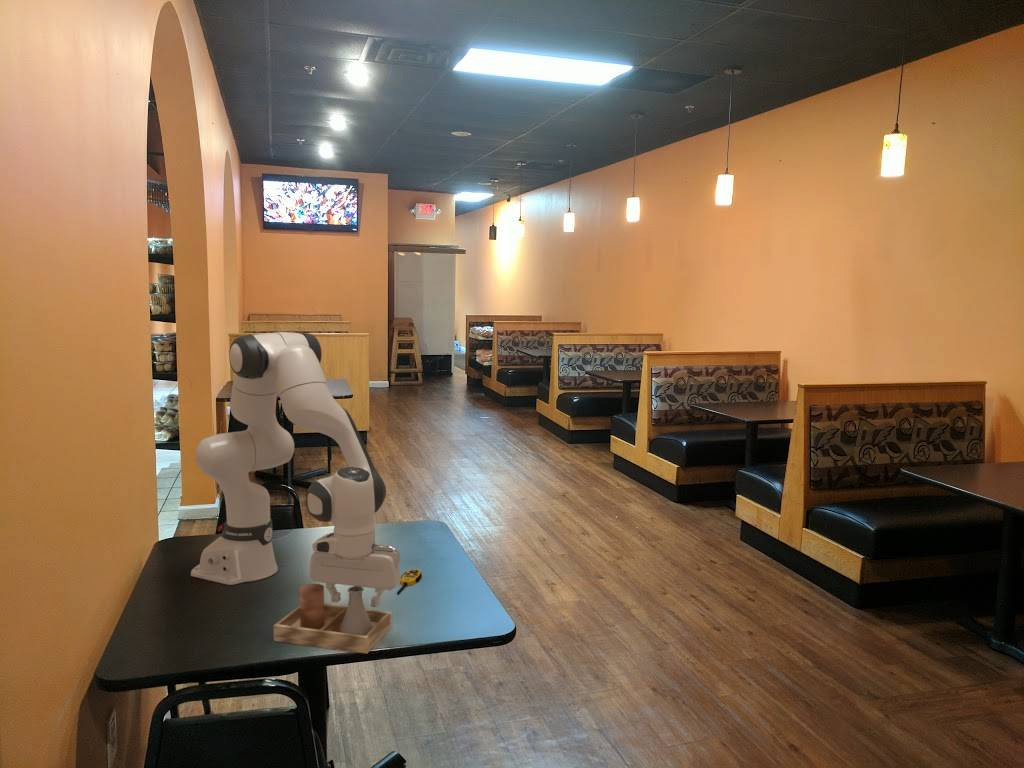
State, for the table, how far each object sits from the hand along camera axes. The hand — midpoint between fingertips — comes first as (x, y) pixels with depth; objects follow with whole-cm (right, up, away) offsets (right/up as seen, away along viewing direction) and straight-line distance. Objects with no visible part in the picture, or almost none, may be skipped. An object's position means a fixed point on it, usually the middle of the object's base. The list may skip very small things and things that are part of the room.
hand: (355, 603), depth 158 cm
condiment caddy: (-5, -7, +2) cm, 9 cm away
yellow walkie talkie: (+7, -5, +31) cm, 32 cm away
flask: (0, -7, +1) cm, 7 cm away
